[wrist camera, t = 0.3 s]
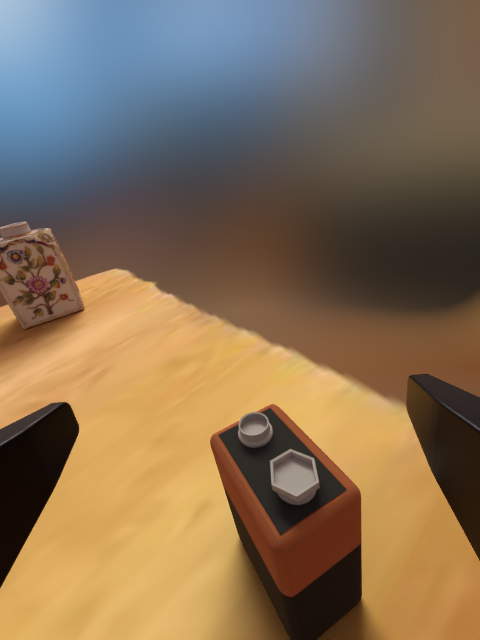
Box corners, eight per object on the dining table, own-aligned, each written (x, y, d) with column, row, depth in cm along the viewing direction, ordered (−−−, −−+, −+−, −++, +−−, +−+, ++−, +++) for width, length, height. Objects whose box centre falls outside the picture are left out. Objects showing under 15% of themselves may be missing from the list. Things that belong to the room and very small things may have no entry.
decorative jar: (81, 294, 74) (46, 215, 65) (86, 309, 64) (46, 218, 56) (24, 313, 69) (-21, 230, 61) (21, 331, 60) (-33, 236, 52)
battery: (298, 658, 15) (271, 542, 11) (236, 532, 21) (201, 421, 16) (366, 600, 17) (367, 476, 12) (290, 497, 22) (272, 386, 18)
